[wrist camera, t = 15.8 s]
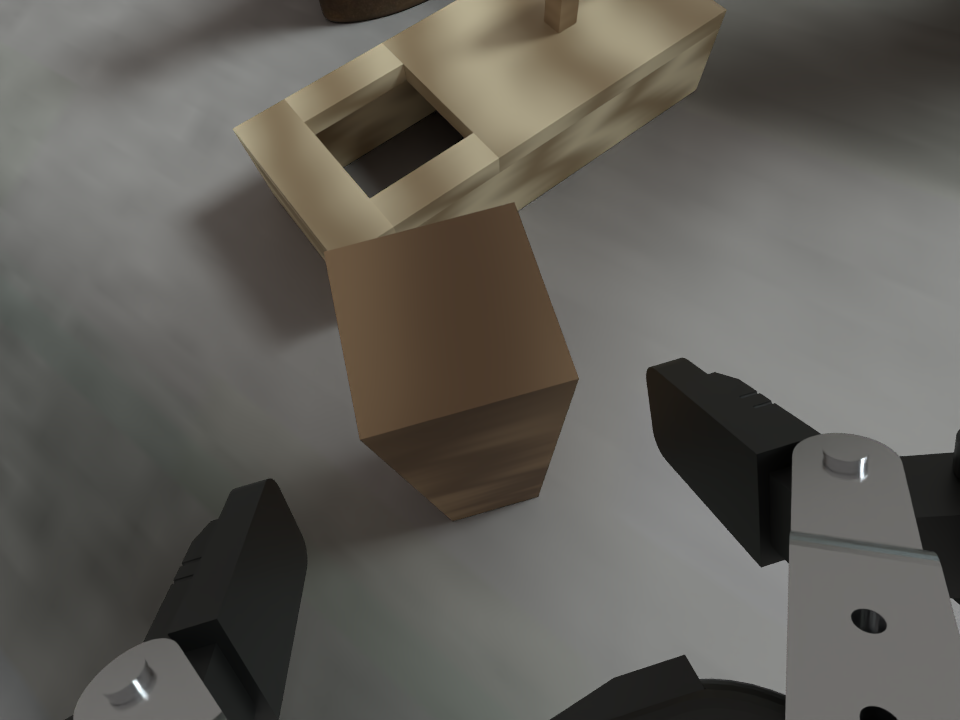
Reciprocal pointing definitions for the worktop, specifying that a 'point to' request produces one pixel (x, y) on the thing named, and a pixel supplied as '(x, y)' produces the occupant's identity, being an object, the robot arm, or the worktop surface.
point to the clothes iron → (363, 9)
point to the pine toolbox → (479, 108)
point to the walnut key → (454, 358)
